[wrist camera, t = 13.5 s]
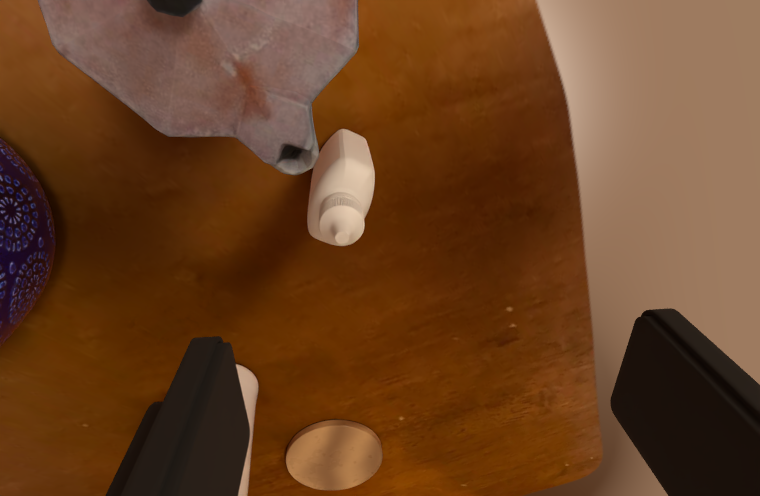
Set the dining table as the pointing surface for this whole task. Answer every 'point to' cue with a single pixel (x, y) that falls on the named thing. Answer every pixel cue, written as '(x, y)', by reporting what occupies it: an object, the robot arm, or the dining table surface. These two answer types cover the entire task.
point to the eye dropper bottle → (341, 189)
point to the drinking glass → (250, 397)
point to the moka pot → (214, 64)
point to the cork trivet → (334, 455)
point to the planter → (22, 240)
